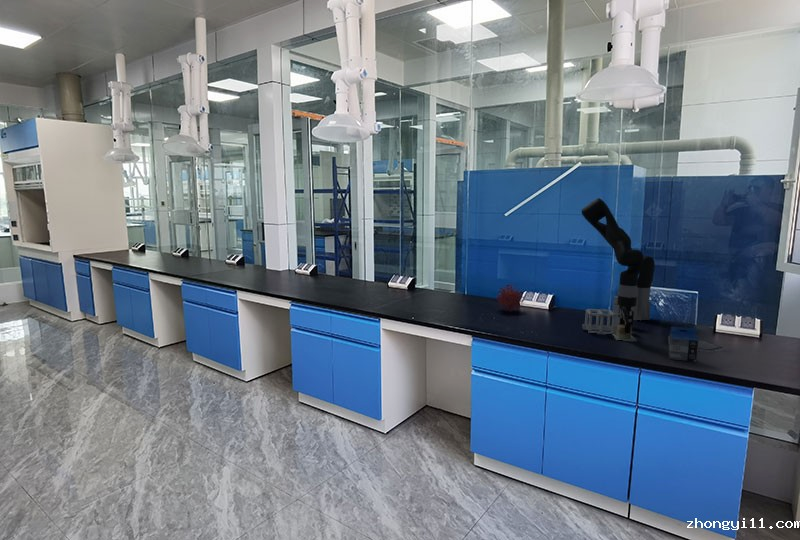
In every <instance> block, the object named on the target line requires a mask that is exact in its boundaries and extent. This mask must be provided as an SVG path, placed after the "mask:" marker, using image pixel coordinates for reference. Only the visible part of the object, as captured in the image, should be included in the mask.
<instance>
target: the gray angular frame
mask: <svg viewBox="0 0 800 540" xmlns="http://www.w3.org/2000/svg"><path fill="white" fill-rule="evenodd" d="M593 316H594V317H596V320H595V321H596V322H595V325H600V330H591V325H593V324H592V323H593V322H592V320H593ZM615 316H616V315H615V314H614V313H613V310H611V309H595V308H585V316H584V317H585V319H584V324H589V327H588V330H587V334H589V333H597V334H596V335H606V334H616V326H617V325H616V324H615ZM604 317H607V321H606V325H609V326H612V330H611V331H603V325H604ZM611 317H612V319H611ZM611 320H612V321H611ZM599 322H600V323H599Z"/></svg>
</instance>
